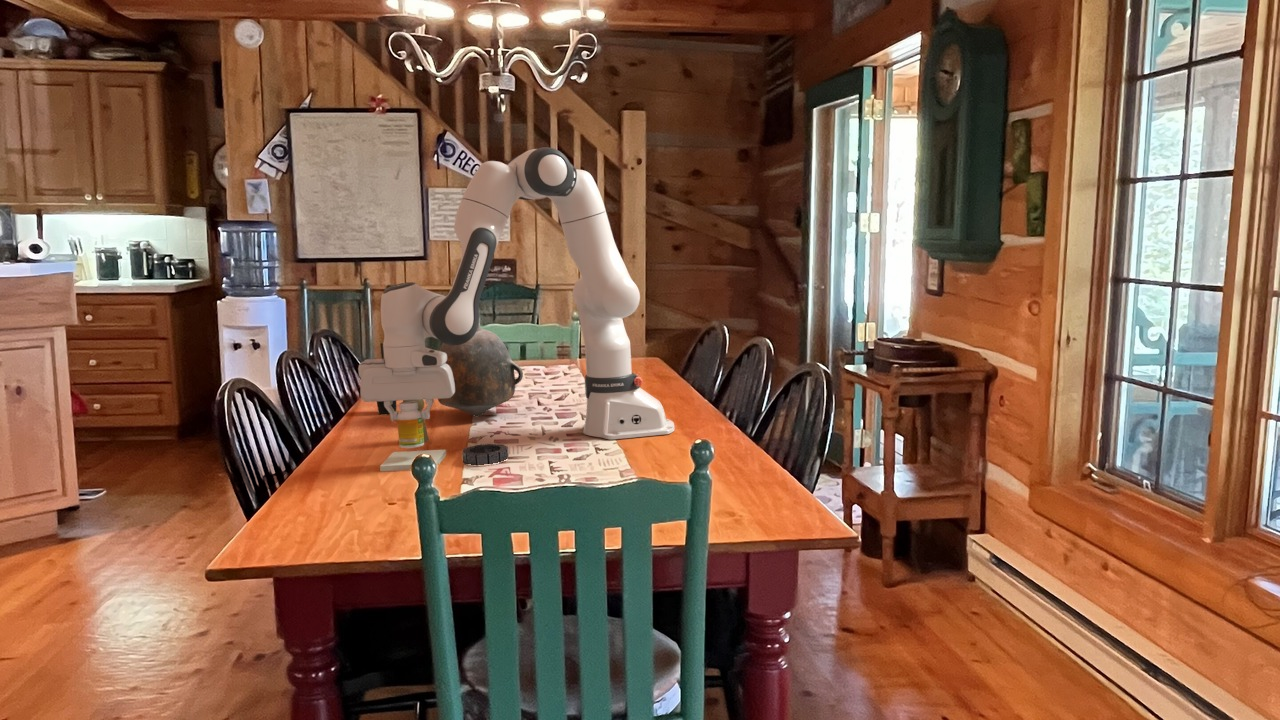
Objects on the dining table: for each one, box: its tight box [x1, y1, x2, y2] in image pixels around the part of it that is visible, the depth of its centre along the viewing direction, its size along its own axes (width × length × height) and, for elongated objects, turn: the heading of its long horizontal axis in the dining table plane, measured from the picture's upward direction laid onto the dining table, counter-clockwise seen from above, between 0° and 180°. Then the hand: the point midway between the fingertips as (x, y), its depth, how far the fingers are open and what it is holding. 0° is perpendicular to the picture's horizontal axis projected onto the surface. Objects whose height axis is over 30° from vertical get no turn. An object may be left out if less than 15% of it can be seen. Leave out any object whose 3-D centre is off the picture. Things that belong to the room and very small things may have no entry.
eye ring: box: [461, 443, 509, 465], centre depth 203 cm, size 10×10×2 cm
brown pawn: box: [402, 399, 430, 444], centre depth 223 cm, size 6×6×11 cm
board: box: [379, 449, 447, 472], centre depth 203 cm, size 12×12×1 cm
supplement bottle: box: [396, 401, 425, 449], centre depth 202 cm, size 5×5×10 cm
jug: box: [437, 325, 524, 417], centre depth 248 cm, size 24×21×30 cm
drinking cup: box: [376, 342, 397, 415], centre depth 259 cm, size 8×8×20 cm
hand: (410, 419), depth 202 cm, fingers closed on supplement bottle, 5 cm apart
